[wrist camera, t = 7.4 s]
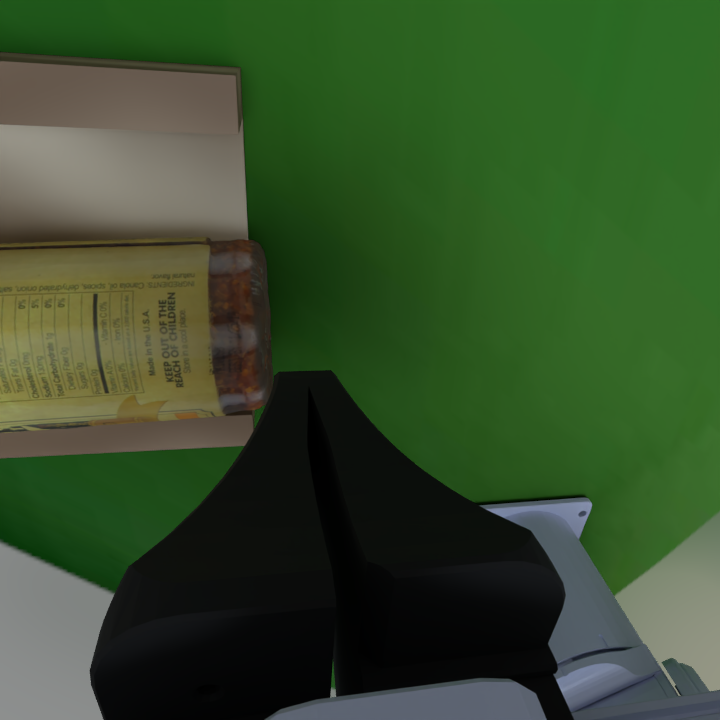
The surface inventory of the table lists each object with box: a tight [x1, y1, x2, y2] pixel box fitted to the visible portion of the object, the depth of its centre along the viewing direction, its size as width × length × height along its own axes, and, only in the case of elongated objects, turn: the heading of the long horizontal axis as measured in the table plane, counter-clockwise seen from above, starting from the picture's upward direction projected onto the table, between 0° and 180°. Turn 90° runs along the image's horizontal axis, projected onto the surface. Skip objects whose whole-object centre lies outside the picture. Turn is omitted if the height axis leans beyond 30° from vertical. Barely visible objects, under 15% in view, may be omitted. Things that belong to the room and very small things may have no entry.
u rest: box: [0, 52, 255, 458], centre depth 18 cm, size 13×14×4 cm
